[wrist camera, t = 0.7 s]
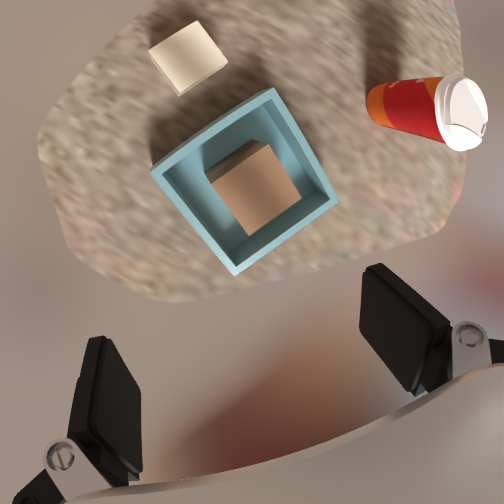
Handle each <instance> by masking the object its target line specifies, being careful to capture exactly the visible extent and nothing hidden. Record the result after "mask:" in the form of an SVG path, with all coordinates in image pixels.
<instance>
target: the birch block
mask: <svg viewBox="0 0 504 504" xmlns="http://www.w3.org/2000/svg"><path fill="white" fill-rule="evenodd" d="M148 52H149V55H150V57H151V60H152V62H153V63H154V64H155V66H156V67H157V68H158V70H159V71H160V72H161V74H162V75H163V76H164V78H165V79H166V80H167V82H168V83H169V84H170V86H171V87H172V88H173V90H174V91H175V92H176V94H177V95H178V96H181V95H182V94H184V93H185V92H187V91H188V90H190V89H191V88H193V87H194V86H196V85H197V84H199V83H200V82H202V81H203V80H205V79H206V78H208V77H210V76H211V75H213V74H214V73H216V72H218V71H219V70H221V69H222V68H223V67H224V66H225V65H226V64H227V63H228V61H227V60H226V58H225V57H224V55H223V54H222V53H221V51H220V50H219V49H218V47H217V46H216V44H215V43H214V42H213V40H212V39H211V38H210V36H209V35H208V34H207V32H206V31H205V30H204V29H203V27H202V26H201V25H200V23H199V22H198V21H195V22H194V23H192V24H190V25H188V26H187V27H185V28H183V29H181V30H180V31H178V32H176V33H175V34H173V35H171V36H170V37H168V38H167V39H165V40H164V41H162V42H160V43H159V44H157V45H156V46H154V47H153V48H151V49H150V50H148Z"/></svg>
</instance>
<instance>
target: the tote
mask: <svg viewBox="0 0 504 504" xmlns="http://www.w3.org/2000/svg"><path fill="white" fill-rule="evenodd" d="M251 139H253V140H257V141H260V142H263V143H267V144H269V146H270V147H271V149H272V150H273V152H274V153H275V155H276V157H277V158H278V160H279V161H280V163H281V165H282V166H283V168H284V169H285V171H286V173H287V174H288V176H289V177H290V179H291V181H292V182H293V184H294V186H295V187H296V189H297V191H298V192H299V194H300V196H301V197H302V198H301V199H300V200H299V201H297V202H296V203H294V204H293V205H292V206H290V207H289V208H287V209H286V210H285V211H283V212H282V213H280V214H279V215H278V216H276V217H275V218H273V219H272V220H271V221H269V222H268V223H266V224H265V225H264V226H262V227H261V228H259V229H258V230H257V231H255V232H254V233H252V234H251V235H250V236H249V235H248V234H247V233H246V231H245V230H244V229H243V227H242V226H241V225H240V223H239V222H238V220H237V219H236V218H235V216H234V215H233V214H232V212H231V211H230V210H229V208H228V207H227V206H226V204H225V203H224V202H223V200H222V199H221V198H220V196H219V195H218V194H217V192H216V191H215V190H214V188H213V187H212V186H211V184H210V182H209V181H208V179H207V177H206V175H205V173H204V172H205V171H206V170H208V169H209V168H211V167H212V166H213V165H215V164H216V163H218V162H219V161H220V160H222V159H223V158H225V157H226V156H227V155H229V154H230V153H232V152H233V151H235V150H236V149H238V148H239V147H241V146H242V145H243V144H245V143H246V142H248V141H249V140H251ZM150 174H151V176H152V177H153V178H154V179H155V181H156V182H157V183H158V184H159V186H160V187H161V188H162V189H163V191H164V192H165V193H166V194H167V196H168V197H169V198H170V199H171V201H172V202H173V203H174V204H175V206H176V207H177V208H178V209H179V211H180V212H181V213H182V214H183V215H184V217H185V218H186V219H187V220H188V222H189V223H190V224H191V225H192V226H193V228H194V229H195V230H196V231H197V233H198V234H199V235H200V236H201V237H202V239H203V240H204V241H205V242H206V243H207V245H208V246H209V247H210V248H211V250H212V251H213V252H214V253H215V254H216V256H217V257H218V258H219V259H220V260H221V261H222V263H223V264H224V265H225V266H226V267H227V269H228V270H229V271H230V272H231V273H232V275H233V276H236V275H237V274H238V273H240V272H241V271H243V270H244V269H246V268H247V267H248V266H250V265H251V264H253V263H254V262H255V261H257V260H258V259H260V258H261V257H262V256H264V255H265V254H267V253H268V252H269V251H271V250H272V249H274V248H275V247H276V246H278V245H279V244H281V243H282V242H283V241H285V240H286V239H287V238H289V237H290V236H292V235H293V234H294V233H296V232H297V231H299V230H300V229H301V228H303V227H304V226H306V225H307V224H308V223H310V222H311V221H312V220H314V219H315V218H317V217H318V216H319V215H321V214H322V213H324V212H325V211H326V210H328V209H329V208H330V207H332V206H333V205H335V204H336V203H337V202H339V200H338V198H337V196H336V194H335V192H334V190H333V188H332V186H331V184H330V182H329V180H328V178H327V177H326V175H325V173H324V171H323V169H322V167H321V166H320V164H319V162H318V160H317V158H316V156H315V155H314V153H313V151H312V149H311V148H310V146H309V144H308V142H307V141H306V139H305V137H304V135H303V134H302V132H301V130H300V129H299V127H298V125H297V124H296V122H295V120H294V119H293V117H292V115H291V114H290V112H289V110H288V109H287V107H286V106H285V104H284V102H283V101H282V99H281V98H280V96H279V95H278V93H277V91H276V90H275V88H274V87H272V88H268V89H265V90H261V91H259V92H257V93H256V94H254V95H253V96H251V97H249V98H248V99H246V100H244V101H243V102H241V103H240V104H238V105H237V106H235V107H234V108H232V109H230V110H229V111H227V112H226V113H224V114H223V115H221V116H220V117H218V118H217V119H215V120H214V121H212V122H211V123H209V124H208V125H207V126H205V127H204V128H202V129H201V130H199V131H198V132H197V133H195V134H194V135H192V136H191V137H190V138H188V139H187V140H185V141H184V142H183V143H181V144H180V145H179V146H177V147H176V148H175V149H173V150H172V151H171V152H169V153H168V154H167V155H165V156H164V157H163V158H162V159H160V160H159V161H158V162H156V163H155V164H154V165H153V166H152V168H151V170H150Z"/></svg>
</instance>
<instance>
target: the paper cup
mask: <svg viewBox="0 0 504 504" xmlns="http://www.w3.org/2000/svg"><path fill="white" fill-rule="evenodd" d="M366 106H367V110H368V113H369V115H370V117H371V118H372V120H373V121H374V122H376V123H377V124H379V125H382V126H385V127H388V128H392V129H396V130H400V131H403V132H407V133H411V134H415V135H418V136H422V137H425V138H429V139H432V140H435V141H438V142H442V143H445V144H447V145H448V146H449V147H451V148H452V149H454V150H456V151H464V150H467V149H472V148H474V147H476V146H477V145H478V144H480V142H481V141H482V139H481V137H482V135H484V132H485V128H486V125H485V123H486V122H487V121H488V115H487V114H488V113H487V106H486V102H485V98H484V96H483V94H482V92H481V90H480V88H479V87H478V86H477V85H476V83H474V82H473V81H472V80H470V79H468V78H466V77H464V76H463V75H461V74H458V73H451V74H448V75H447V76H445V77H433V78H421V79H411V80H402V81H394V82H387V83H382V84H378V85H375V86H374V87H372V88H371V89H370V91H369V93H368V95H367V99H366Z"/></svg>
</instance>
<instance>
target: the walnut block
mask: <svg viewBox="0 0 504 504" xmlns="http://www.w3.org/2000/svg"><path fill="white" fill-rule="evenodd" d="M204 173H205V175H206V177H207V179H208V181H209V182H210V184H211V186H212V187H213V188H214V190H215V191H216V192H217V194H218V195H219V196H220V198H221V199H222V200H223V202H224V203H225V204H226V206H227V207H228V208H229V210H230V211H231V212H232V214H233V215H234V216H235V218H236V219H237V220H238V222H239V223H240V225H241V226H242V227H243V229H244V230H245V231H246V233H247V234H248V235H249V236H250V235H251V234H252V233H254V232H255V231H257V230H258V229H259V228H261V227H262V226H264V225H265V224H266V223H268V222H269V221H271V220H272V219H273V218H275V217H276V216H278V215H279V214H280V213H282V212H283V211H285V210H286V209H287V208H289V207H290V206H292V205H293V204H294V203H296V202H297V201H299V200H300V199H301V198H302V197H301V196H300V194H299V192H298V191H297V189H296V187H295V186H294V184H293V182H292V181H291V179H290V177H289V176H288V174H287V173H286V171H285V169H284V168H283V166H282V165H281V163H280V161H279V160H278V158H277V157H276V155H275V153H274V152H273V150H272V149H271V147H270V146H269V144H267V143H263V142H260V141H257V140H253V139H251V140H249V141H248V142H246V143H245V144H243V145H242V146H241V147H239V148H238V149H236V150H235V151H233V152H232V153H230V154H229V155H227V156H226V157H225V158H223V159H222V160H220V161H219V162H218V163H216V164H215V165H213V166H212V167H211V168H209V169H208V170H206V171H205V172H204Z"/></svg>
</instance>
